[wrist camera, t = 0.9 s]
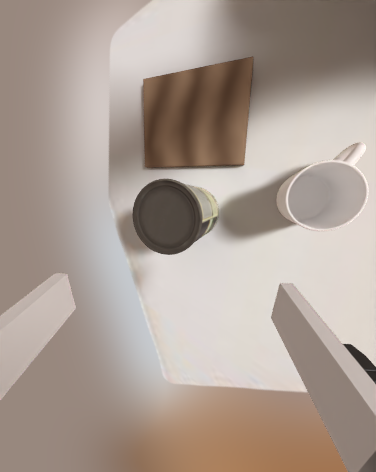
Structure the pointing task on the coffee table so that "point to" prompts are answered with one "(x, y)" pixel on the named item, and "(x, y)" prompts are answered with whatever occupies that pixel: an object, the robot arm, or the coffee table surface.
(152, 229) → the coffee can
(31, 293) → the robot arm
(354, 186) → the cup
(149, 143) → the walnut board
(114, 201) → the coffee table surface
